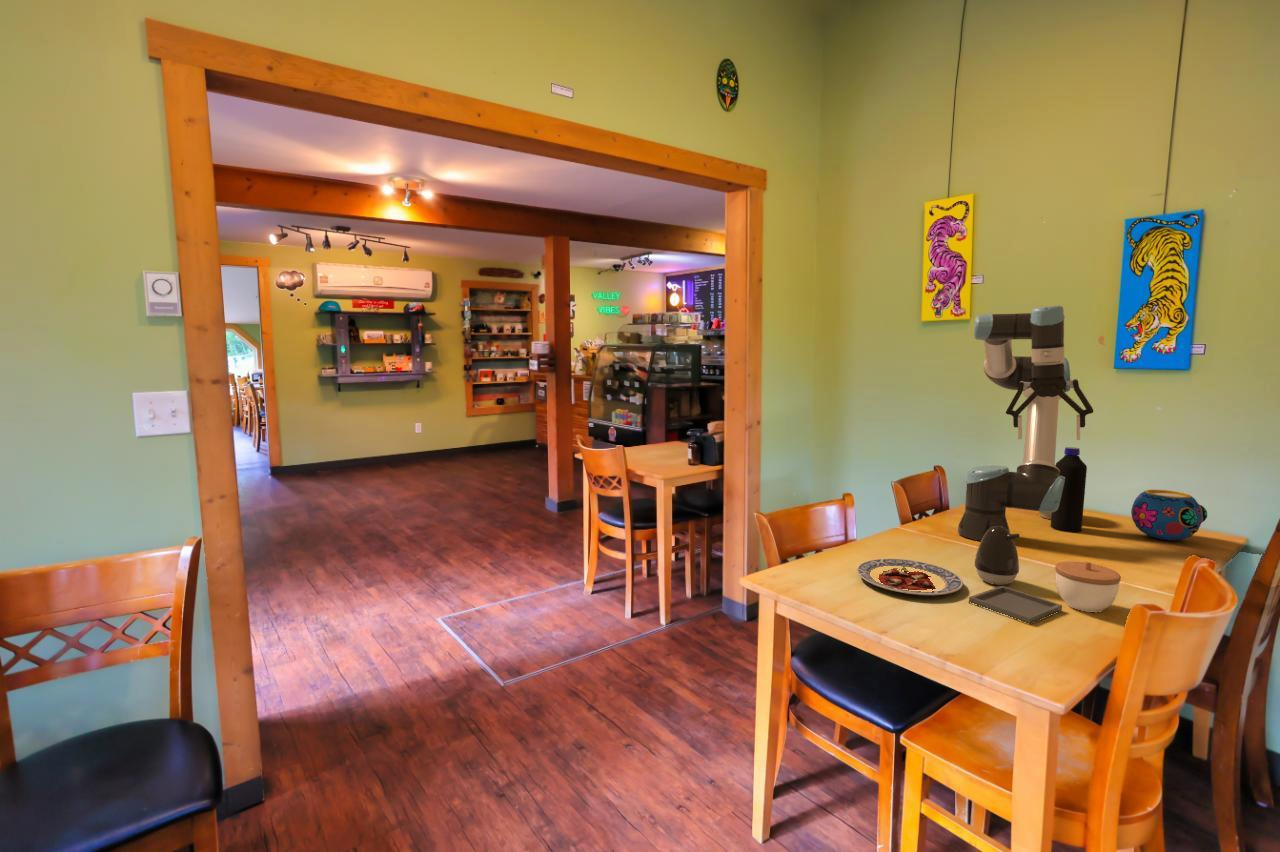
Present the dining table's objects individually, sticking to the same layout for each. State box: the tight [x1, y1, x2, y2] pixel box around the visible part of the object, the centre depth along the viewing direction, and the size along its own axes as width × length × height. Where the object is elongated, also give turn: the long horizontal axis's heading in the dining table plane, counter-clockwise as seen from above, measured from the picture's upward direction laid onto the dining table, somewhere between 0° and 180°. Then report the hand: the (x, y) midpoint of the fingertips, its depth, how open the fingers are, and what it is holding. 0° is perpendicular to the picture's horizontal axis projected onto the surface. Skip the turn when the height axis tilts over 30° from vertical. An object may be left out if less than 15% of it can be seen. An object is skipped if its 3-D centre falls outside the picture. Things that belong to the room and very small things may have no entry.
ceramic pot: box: [1130, 489, 1208, 542], centre depth 200 cm, size 18×18×15 cm
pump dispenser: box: [974, 526, 1020, 586], centre depth 163 cm, size 10×10×15 cm
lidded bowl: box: [1054, 560, 1122, 614], centre depth 148 cm, size 13×13×11 cm
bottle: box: [1050, 446, 1088, 533], centre depth 210 cm, size 9×9×28 cm
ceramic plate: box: [856, 558, 964, 596], centre depth 164 cm, size 26×26×3 cm
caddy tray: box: [968, 585, 1063, 625], centre depth 148 cm, size 14×14×2 cm
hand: (1048, 438), depth 173 cm, fingers open, 13 cm apart
